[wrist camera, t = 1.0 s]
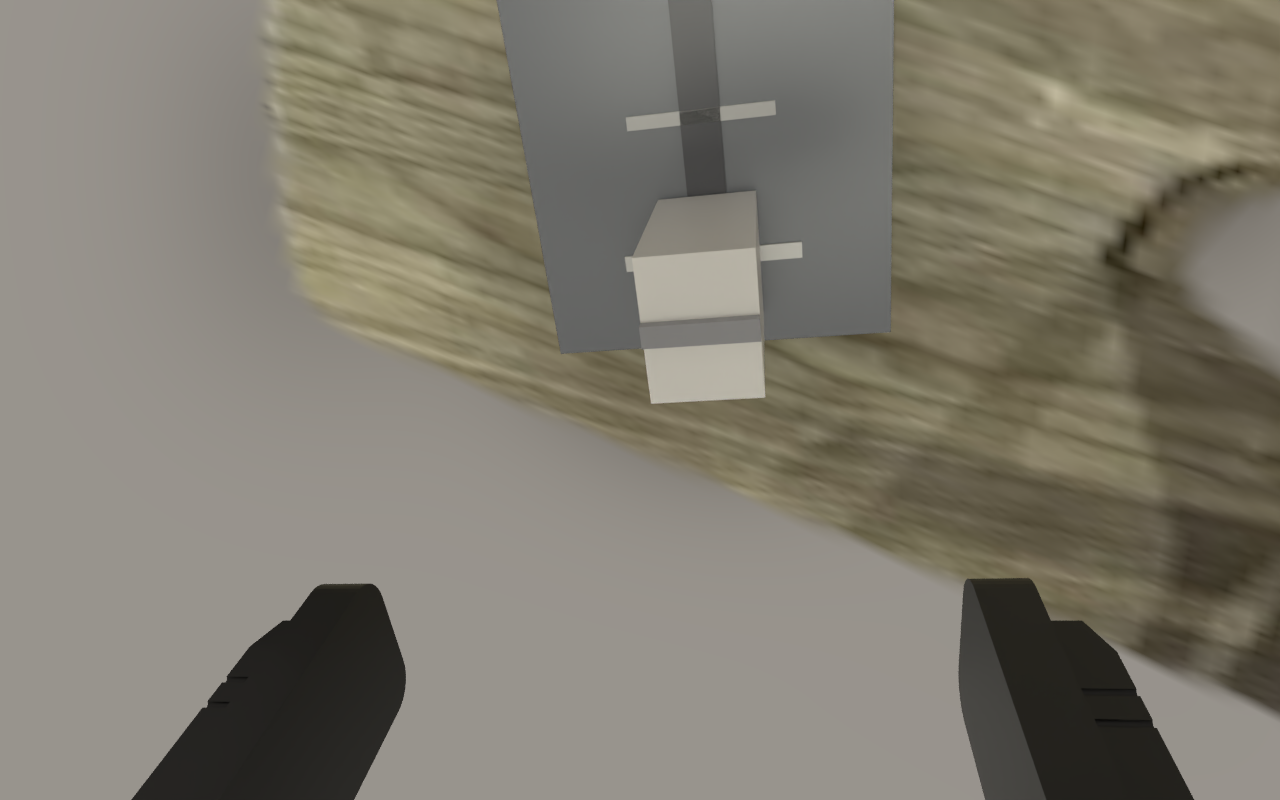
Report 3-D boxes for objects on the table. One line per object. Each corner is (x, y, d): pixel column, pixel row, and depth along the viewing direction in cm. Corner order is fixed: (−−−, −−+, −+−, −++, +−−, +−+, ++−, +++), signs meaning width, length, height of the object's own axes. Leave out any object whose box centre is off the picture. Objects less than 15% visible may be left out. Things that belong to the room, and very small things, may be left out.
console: (880, -406, 21) (899, -465, 18) (878, 300, 29) (891, 333, 26) (469, -319, 23) (429, -360, 20) (577, 321, 31) (560, 354, 28)
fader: (756, 190, 25) (755, 251, 19) (763, 314, 27) (765, 402, 21) (657, 199, 25) (630, 261, 20) (672, 320, 27) (649, 408, 22)
